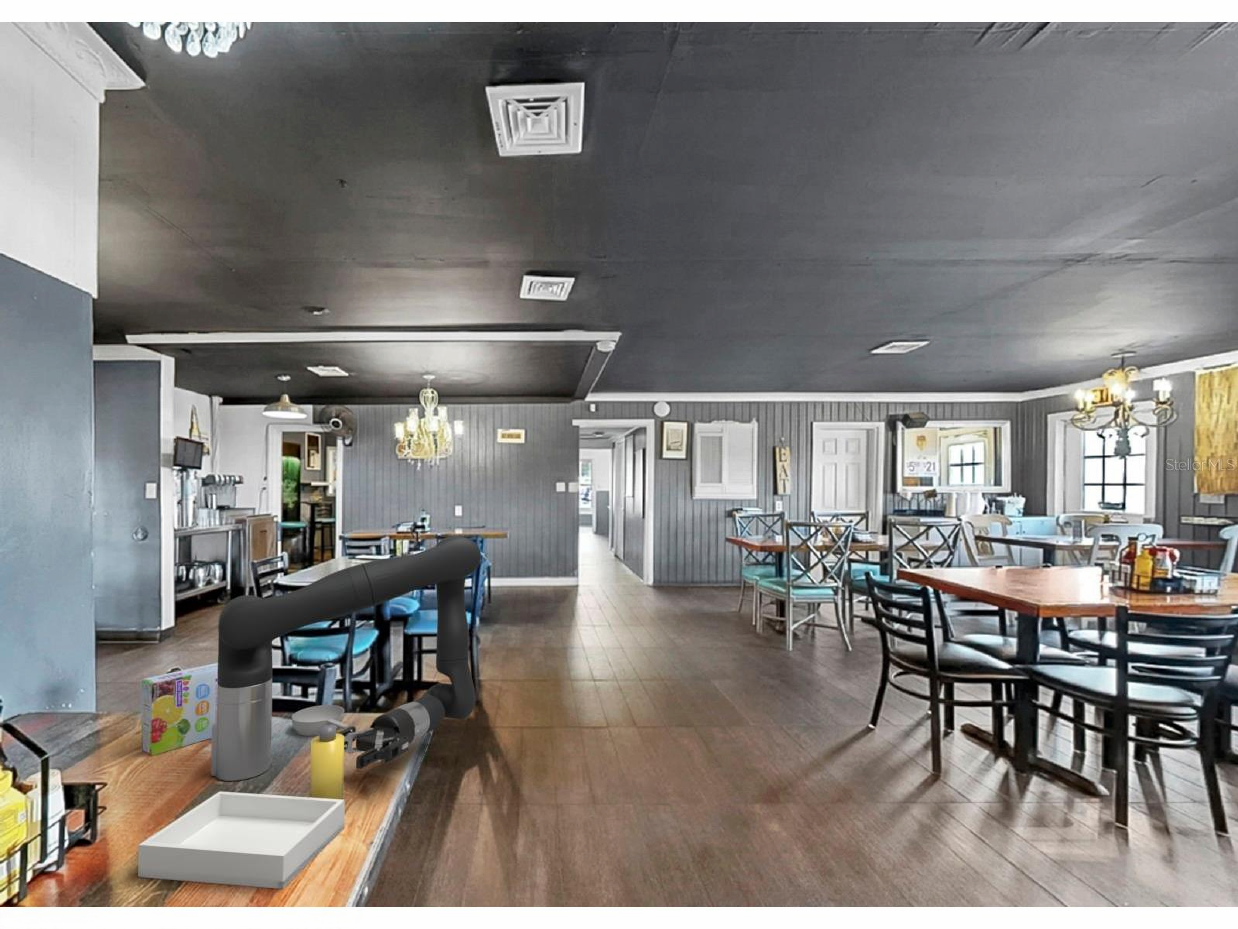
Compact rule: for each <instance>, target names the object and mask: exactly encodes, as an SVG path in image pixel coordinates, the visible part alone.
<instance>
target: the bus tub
mask: <svg viewBox="0 0 1238 929" xmlns="http://www.w3.org/2000/svg"><path fill="white" fill-rule="evenodd" d="M345 801H346V800H345V799H343V800H341V799H326V798H310V796H309V797H307V796H293V795H277V794H263V793H261V794H260V793H248V792H247V793H246V792H232V791H218V792H217V793H215V794H213V795H212V796H210V797H208V799H206V800H204V801H203V802H201V803H200V804H198V805H197V806H195V807H194V808H192V809H191V810H189V811H188V812H186V813H185V814H183V815H182V816H180V817H178V818H177V819H176V820H174V821H173V822H171V823H170V824H168V825H166V826H165V827H164V828H162V829H161V830H158V831H157V832H155V833H154V834H153V835H151V836H149V837H148V838H147V839H145V840H144V841H142V842H141V843H140V844H138V860H137V862H138V865H137V866H138V870H137V871H138V872H137V873H138V874H137V877H139V878H145V879H146V878H148V879H158V880H159V879H161V880H170V881H171V880H172V881H183V882H184V881H186V882H195V883H196V882H197V883H206V884H207V883H208V884H217V885H218V884H219V885H231V886H240V887H241V886H243V887H245V886H246V887H255V888H256V887H257V888H267V889H278V890H279V889H280V890H284V889H285V888H286V887H287V886H288V885H289V884H290V882H292V881H293V880H294V879H295V878H297V876H298V875H299V874H300V873H301V872H302V871H303V870H304V869H305V868H306V867H307V866H308V865H309V864H310V862H312V861H313V860H314V859H315V858H316V857H317V856H318V855H319V854H320V853H321V852H322V851H323V850H324V849H325V848H326V847H327V846H328V845H329V844H330V843H331V842H332V841H333V840H334V839H335V838H336V837H337V836H338V835H339V834H340V833H341V832H342V831H343V830H344V829H345V820H346V819H345V815H346V813H345V812H346V811H345V810H346V802H345ZM342 829H343V830H342Z"/></svg>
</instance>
